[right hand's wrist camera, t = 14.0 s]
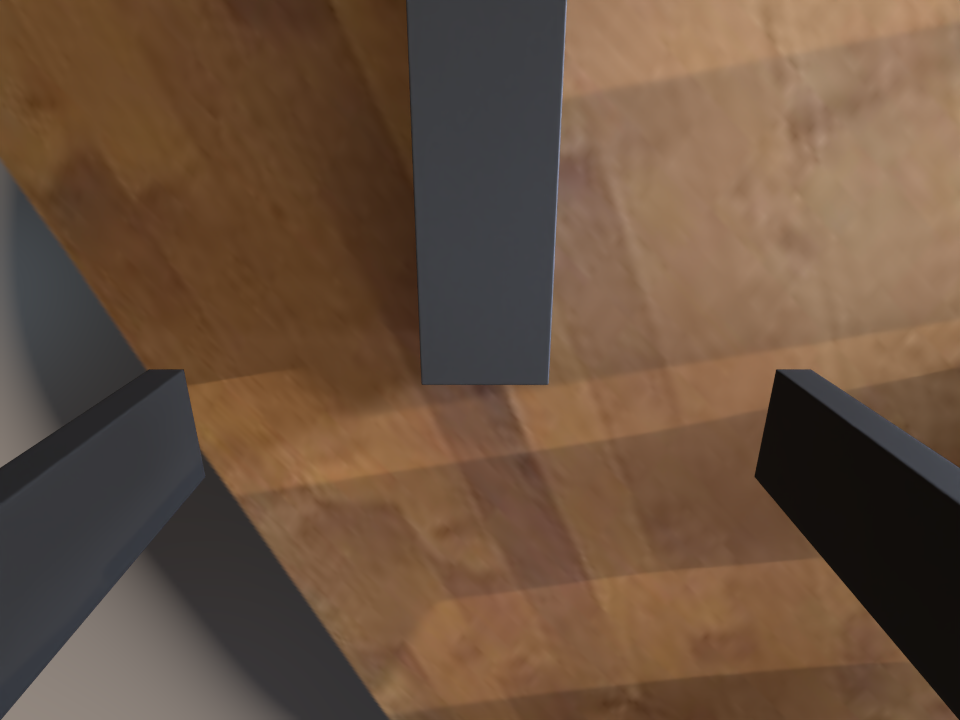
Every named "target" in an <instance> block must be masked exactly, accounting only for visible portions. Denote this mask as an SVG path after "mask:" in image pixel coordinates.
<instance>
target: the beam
mask: <svg viewBox="0 0 960 720" xmlns="http://www.w3.org/2000/svg"><path fill="white" fill-rule="evenodd" d="M406 8H407V33H408V58H409V83H410V108H411V133H412V158H413V183H414V208H415V233H416V258H417V283H418V308H419V333H420V358H421V383H422V385H548V383H549V362H550V342H551V321H552V300H553V279H554V259H555V238H556V217H557V196H558V175H559V155H560V134H561V113H562V92H563V71H564V51H565V30H566V9H567V0H406Z"/></svg>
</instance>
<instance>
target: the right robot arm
mask: <svg viewBox="0 0 960 720" xmlns="http://www.w3.org/2000/svg"><path fill="white" fill-rule="evenodd" d="M204 478H205V472H204V467H203V462H202V457H201V452H200V447H199V442H198V437H197V432H196V428H195V423H194V418H193V413H192V408H191V403H190V398H189V393H188V388H187V383H186V378H185V374H184V370H148V371H146V372H145V373H143V374H142V375H140V376H139V377H137V378H136V379H134V380H133V381H131V382H129V383H128V384H127V385H125V386H123V387H122V388H120V389H119V390H117V391H116V392H114V393H113V394H111V395H110V396H108V397H107V398H105V399H104V400H102V401H101V402H99V403H98V404H96V405H95V406H93V407H92V408H90V409H89V410H87V411H86V412H84V413H83V414H81V415H80V416H78V417H77V418H75V419H74V420H72V421H71V422H69V423H68V424H66V425H65V426H63V427H61V428H60V429H58V430H57V431H55V432H54V433H52V434H51V435H49V436H48V437H46V438H45V439H43V440H42V441H40V442H39V443H37V444H36V445H34V446H33V447H31V448H30V449H28V450H27V451H25V452H24V453H22V454H21V455H19V456H18V457H16V458H15V459H13V460H12V461H10V462H9V463H7V464H6V465H4V466H3V467H1V468H0V720H1V719H2V718H3V717H4V715H5V714H6V713H7V712H8V711H9V710H10V708H11V707H12V706H13V705H14V704H15V702H16V701H17V700H18V699H19V698H20V696H21V695H22V694H23V693H24V692H25V691H26V689H27V688H28V687H29V686H30V685H31V683H32V682H33V681H34V680H35V679H36V677H37V676H38V675H39V674H40V673H41V671H42V670H43V669H44V668H45V667H46V666H47V664H48V663H49V662H50V661H51V660H52V658H53V657H54V656H55V655H56V654H57V652H58V651H59V650H60V649H61V648H62V647H63V645H64V644H65V643H66V642H67V641H68V639H69V638H70V637H71V636H72V635H73V633H74V632H75V631H76V630H77V629H78V628H79V626H80V625H81V624H82V623H83V622H84V620H85V619H86V618H87V617H88V616H89V614H90V613H91V612H92V611H93V610H94V609H95V607H96V606H97V605H98V604H99V603H100V601H101V600H102V599H103V598H104V597H105V595H106V594H107V593H108V592H109V591H110V590H111V588H112V587H113V586H114V585H115V584H116V582H117V581H118V580H119V579H120V578H121V576H122V575H123V574H124V573H125V572H126V570H127V569H128V568H129V567H130V566H131V565H132V563H133V562H134V561H135V560H136V559H137V557H138V556H139V555H140V554H141V553H142V552H143V550H144V549H145V548H146V547H147V546H148V544H149V543H150V542H151V541H152V540H153V538H154V537H155V536H156V535H157V534H158V532H159V531H160V530H161V529H162V528H163V527H164V525H165V524H166V523H167V522H168V521H169V519H170V518H171V517H172V516H173V515H174V513H175V512H176V511H177V510H178V509H179V508H180V506H181V505H182V504H183V503H184V502H185V500H186V499H187V498H188V497H189V496H190V495H191V493H192V492H193V491H194V490H195V489H196V487H197V486H198V485H199V484H200V483H201V481H202V480H203V479H204ZM755 478H756V479H757V480H758V481H759V483H760V484H761V485H762V486H763V487H764V489H765V490H766V491H767V492H768V493H769V495H770V496H771V497H772V498H773V499H774V500H775V502H776V503H777V504H778V505H779V506H780V508H781V509H782V510H783V511H784V512H785V514H786V515H787V516H788V517H789V518H790V519H791V521H792V522H793V523H794V524H795V525H796V527H797V528H798V529H799V530H800V531H801V533H802V534H803V535H804V536H805V537H806V538H807V540H808V541H809V542H810V543H811V544H812V546H813V547H814V548H815V549H816V550H817V552H818V553H819V554H820V555H821V556H822V557H823V559H824V560H825V561H826V562H827V563H828V565H829V566H830V567H831V568H832V569H833V571H834V572H835V573H836V574H837V575H838V576H839V578H840V579H841V580H842V581H843V582H844V584H845V585H846V586H847V587H848V588H849V590H850V591H851V592H852V593H853V594H854V595H855V597H856V598H857V599H858V600H859V601H860V603H861V604H862V605H863V606H864V607H865V609H866V610H867V611H868V612H869V613H870V614H871V616H872V617H873V618H874V619H875V620H876V622H877V623H878V624H879V625H880V626H881V628H882V629H883V630H884V631H885V632H886V633H887V635H888V636H889V637H890V638H891V639H892V641H893V642H894V643H895V644H896V645H897V647H898V648H899V649H900V650H901V651H902V652H903V654H904V655H905V656H906V657H907V658H908V660H909V661H910V662H911V663H912V664H913V666H914V667H915V668H916V669H917V670H918V672H919V673H920V674H921V675H922V676H923V677H924V679H925V680H926V681H927V682H928V683H929V685H930V686H931V687H932V688H933V689H934V691H935V692H936V693H937V694H938V695H939V696H940V698H941V699H942V700H943V701H944V702H945V704H946V705H947V706H948V707H949V708H950V710H951V711H952V712H953V713H954V714H955V715H956V717H957V718H958V719H959V720H960V468H959V467H958V466H956V465H954V464H953V463H951V462H950V461H948V460H947V459H945V458H944V457H942V456H941V455H939V454H938V453H936V452H935V451H933V450H932V449H930V448H929V447H927V446H926V445H924V444H923V443H921V442H920V441H918V440H917V439H915V438H914V437H912V436H911V435H909V434H908V433H906V432H905V431H903V430H902V429H900V428H899V427H897V426H896V425H894V424H892V423H891V422H889V421H888V420H886V419H885V418H883V417H882V416H880V415H879V414H877V413H876V412H874V411H873V410H871V409H870V408H868V407H867V406H865V405H864V404H862V403H861V402H859V401H858V400H856V399H855V398H853V397H852V396H850V395H849V394H847V393H846V392H844V391H843V390H841V389H840V388H838V387H837V386H835V385H834V384H832V383H831V382H829V381H827V380H826V379H824V378H823V377H821V376H820V375H818V374H817V373H815V372H814V371H812V370H776V374H775V378H774V383H773V388H772V393H771V398H770V403H769V408H768V413H767V418H766V423H765V428H764V432H763V437H762V442H761V447H760V452H759V457H758V462H757V467H756V472H755Z"/></svg>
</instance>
